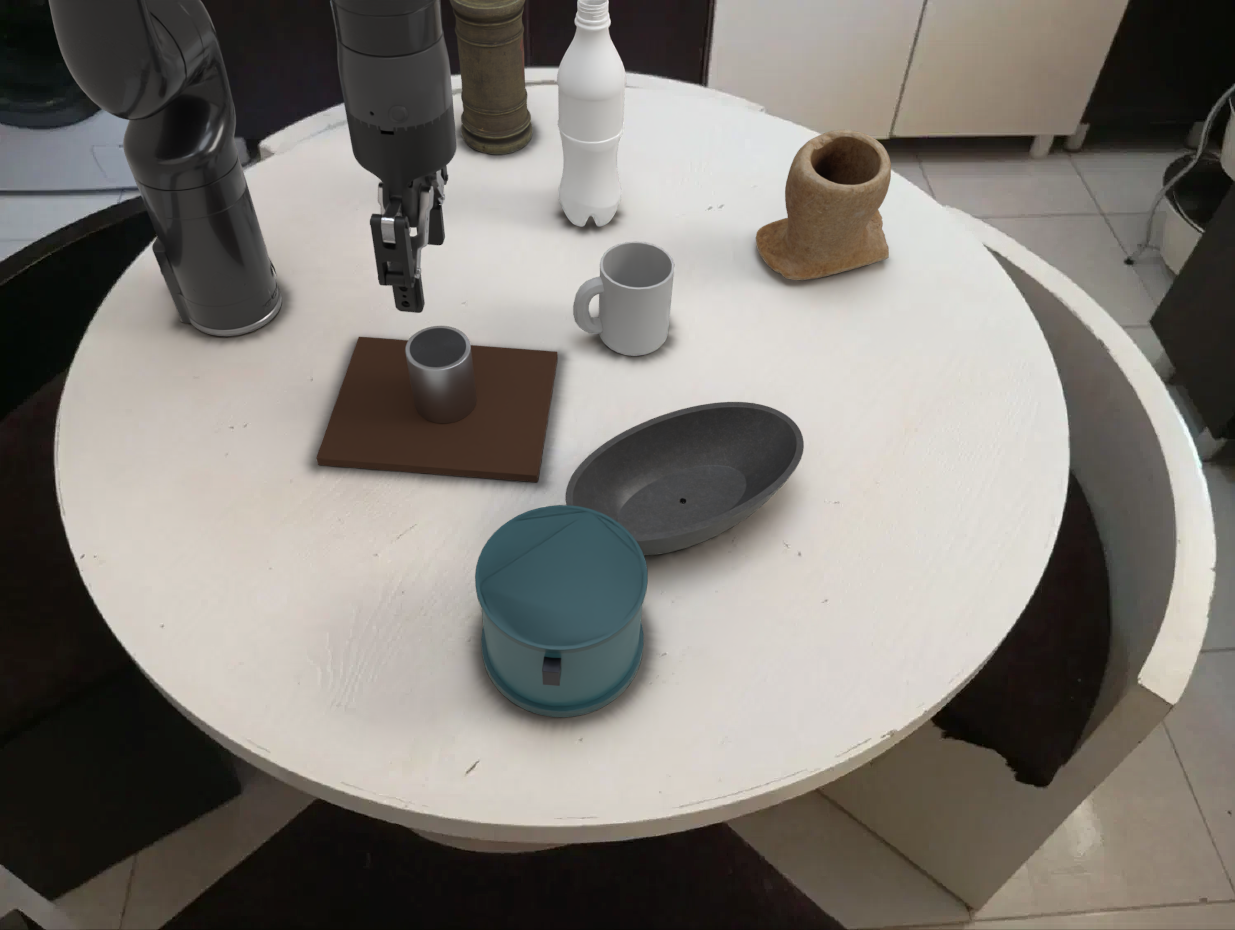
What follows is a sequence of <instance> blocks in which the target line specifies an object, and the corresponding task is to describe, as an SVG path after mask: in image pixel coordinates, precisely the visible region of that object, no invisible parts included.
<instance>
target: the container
mask: <svg viewBox="0 0 1235 930" xmlns="http://www.w3.org/2000/svg"><path fill="white" fill-rule="evenodd" d="M525 2H526V0H449V3H450V5H451V7H452V12H453V15H454V17H455V27H454V32H455V34H456V41H457V50H458V60H459V71H460V82H461V94H460V99H461V102H462V113H461V116H460V122H461V127H460V131H461V136H462V139H463V141H464V143H466V144H467V146H469V147H470V148H471V149H473V150H476V151H478V152H481V153H484V154H489V155H506V154H511V153H514V152H516V151H519V150H521V149H522V148H524V147H525V146H526V145H527V144H528V143H529V142H530V141H531V139H532V136H533V124H532V122H531V120H532V115H531V111H530V110H529V108H528V91H527V87H526V73H525V72H526V70H525V69H526V68H525V48H524V47H525V46H524V32H525V27H524V24H523V19H522V18H523V12H524V4H525Z"/></svg>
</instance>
